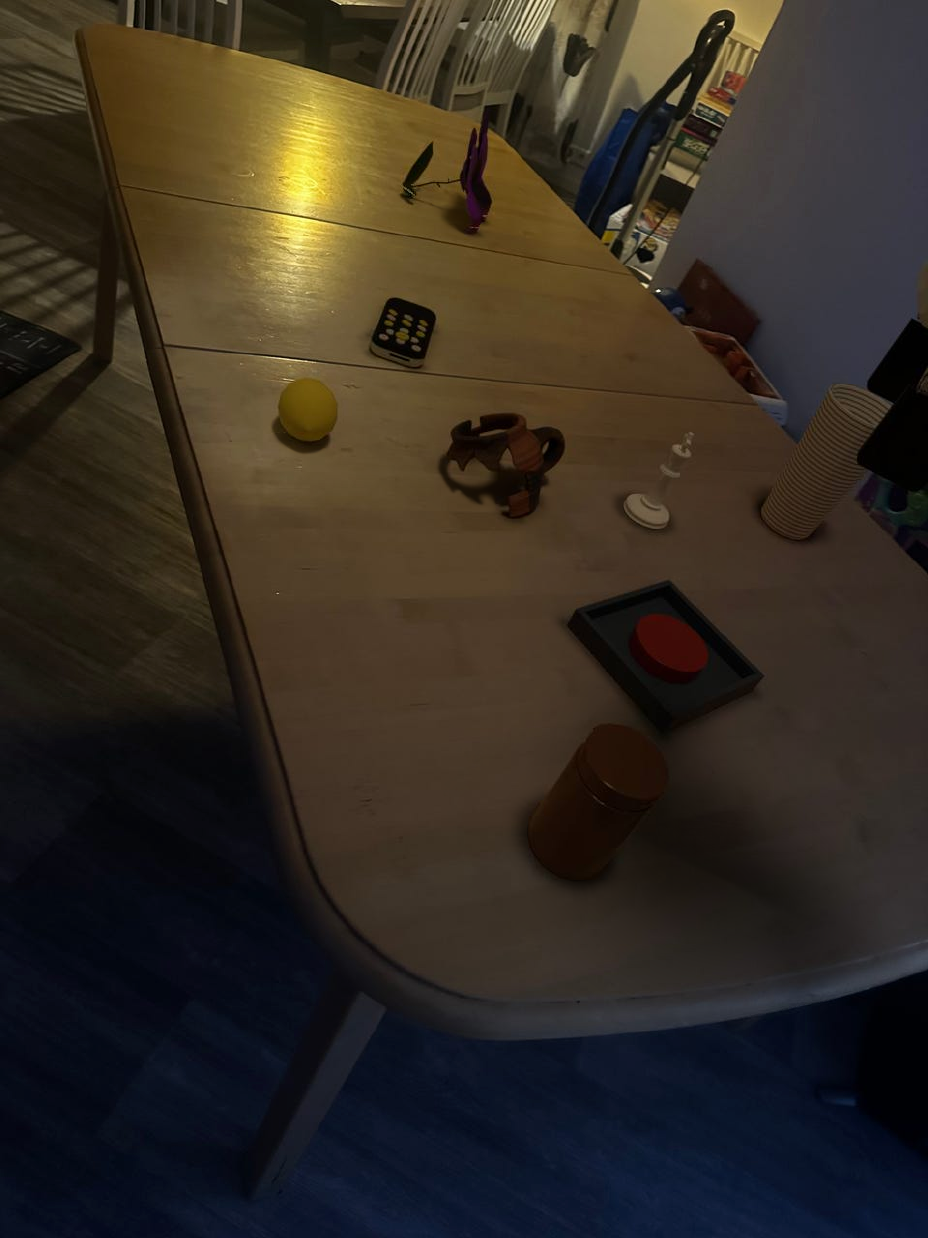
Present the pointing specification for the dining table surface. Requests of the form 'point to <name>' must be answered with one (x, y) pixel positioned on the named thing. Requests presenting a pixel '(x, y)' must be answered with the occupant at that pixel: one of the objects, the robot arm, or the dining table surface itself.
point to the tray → (661, 701)
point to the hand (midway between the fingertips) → (888, 434)
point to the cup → (824, 461)
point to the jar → (598, 801)
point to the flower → (463, 174)
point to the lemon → (308, 409)
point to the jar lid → (668, 649)
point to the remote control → (403, 332)
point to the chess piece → (658, 490)
